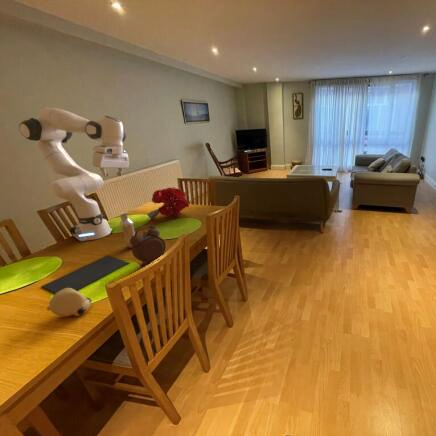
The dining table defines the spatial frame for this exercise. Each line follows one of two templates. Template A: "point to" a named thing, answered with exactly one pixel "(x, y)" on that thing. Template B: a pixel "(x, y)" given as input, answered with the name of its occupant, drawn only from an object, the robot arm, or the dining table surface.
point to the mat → (85, 274)
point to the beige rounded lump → (69, 303)
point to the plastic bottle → (127, 228)
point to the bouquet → (169, 202)
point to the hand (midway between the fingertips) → (112, 176)
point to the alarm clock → (147, 245)
